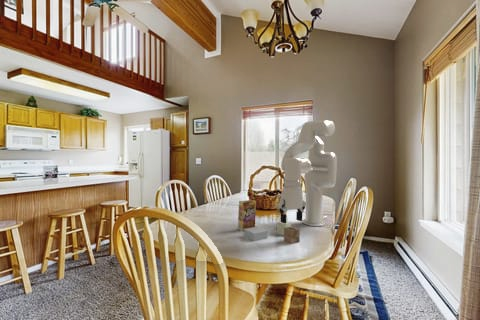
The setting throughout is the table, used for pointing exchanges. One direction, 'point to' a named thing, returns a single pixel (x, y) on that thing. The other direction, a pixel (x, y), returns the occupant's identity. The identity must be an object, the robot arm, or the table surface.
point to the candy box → (246, 214)
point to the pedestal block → (255, 233)
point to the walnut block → (291, 235)
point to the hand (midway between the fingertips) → (291, 221)
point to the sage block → (282, 227)
